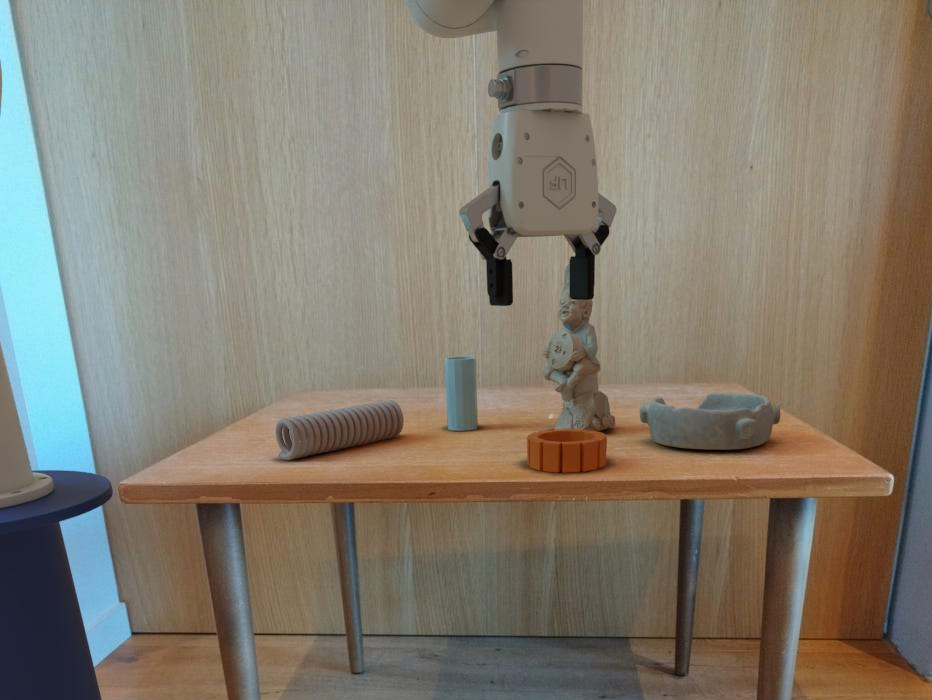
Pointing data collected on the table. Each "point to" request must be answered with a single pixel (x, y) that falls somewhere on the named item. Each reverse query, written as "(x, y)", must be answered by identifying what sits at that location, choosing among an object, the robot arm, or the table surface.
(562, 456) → the ring
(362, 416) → the coil
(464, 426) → the tumbler
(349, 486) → the table surface
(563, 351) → the figurine
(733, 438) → the dish
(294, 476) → the table surface
